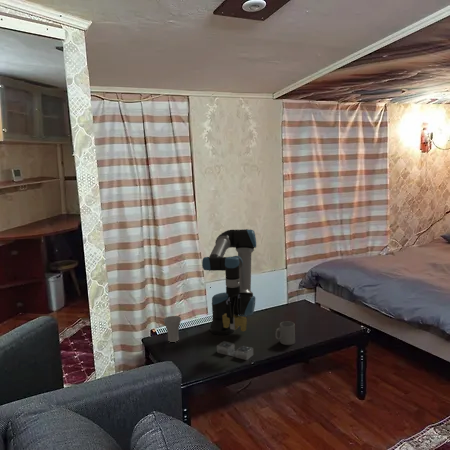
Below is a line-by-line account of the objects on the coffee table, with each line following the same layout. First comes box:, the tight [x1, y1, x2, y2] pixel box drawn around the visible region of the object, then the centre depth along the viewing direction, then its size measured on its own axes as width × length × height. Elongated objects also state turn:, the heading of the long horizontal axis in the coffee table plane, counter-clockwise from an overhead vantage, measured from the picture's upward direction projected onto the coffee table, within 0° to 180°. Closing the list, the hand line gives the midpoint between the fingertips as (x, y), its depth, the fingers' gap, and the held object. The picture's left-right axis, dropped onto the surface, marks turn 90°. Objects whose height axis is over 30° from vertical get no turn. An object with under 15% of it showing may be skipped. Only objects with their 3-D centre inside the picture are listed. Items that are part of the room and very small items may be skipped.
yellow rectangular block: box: [222, 314, 248, 332], centre depth 223 cm, size 14×3×7 cm, turn 57°
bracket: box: [216, 340, 254, 361], centre depth 226 cm, size 19×7×4 cm, turn 56°
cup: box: [162, 315, 182, 343], centre depth 245 cm, size 10×10×14 cm
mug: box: [274, 320, 296, 346], centre depth 237 cm, size 12×8×11 cm
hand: (234, 327), depth 224 cm, fingers closed on yellow rectangular block, 3 cm apart
